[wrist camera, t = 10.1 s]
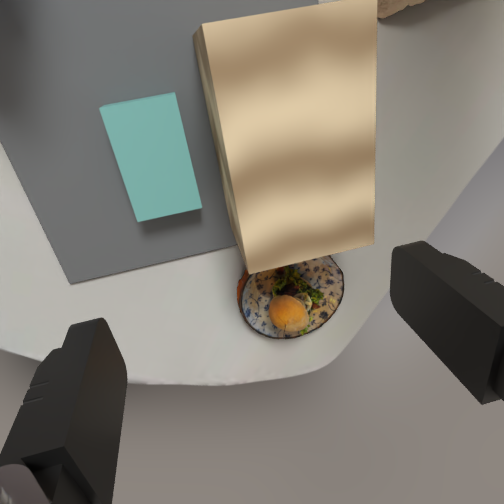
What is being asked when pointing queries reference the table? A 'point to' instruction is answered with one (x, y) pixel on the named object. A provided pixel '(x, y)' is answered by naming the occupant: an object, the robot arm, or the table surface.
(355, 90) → the oak block
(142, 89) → the mat
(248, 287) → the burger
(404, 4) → the clay tablet
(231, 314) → the table surface
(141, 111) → the card box
